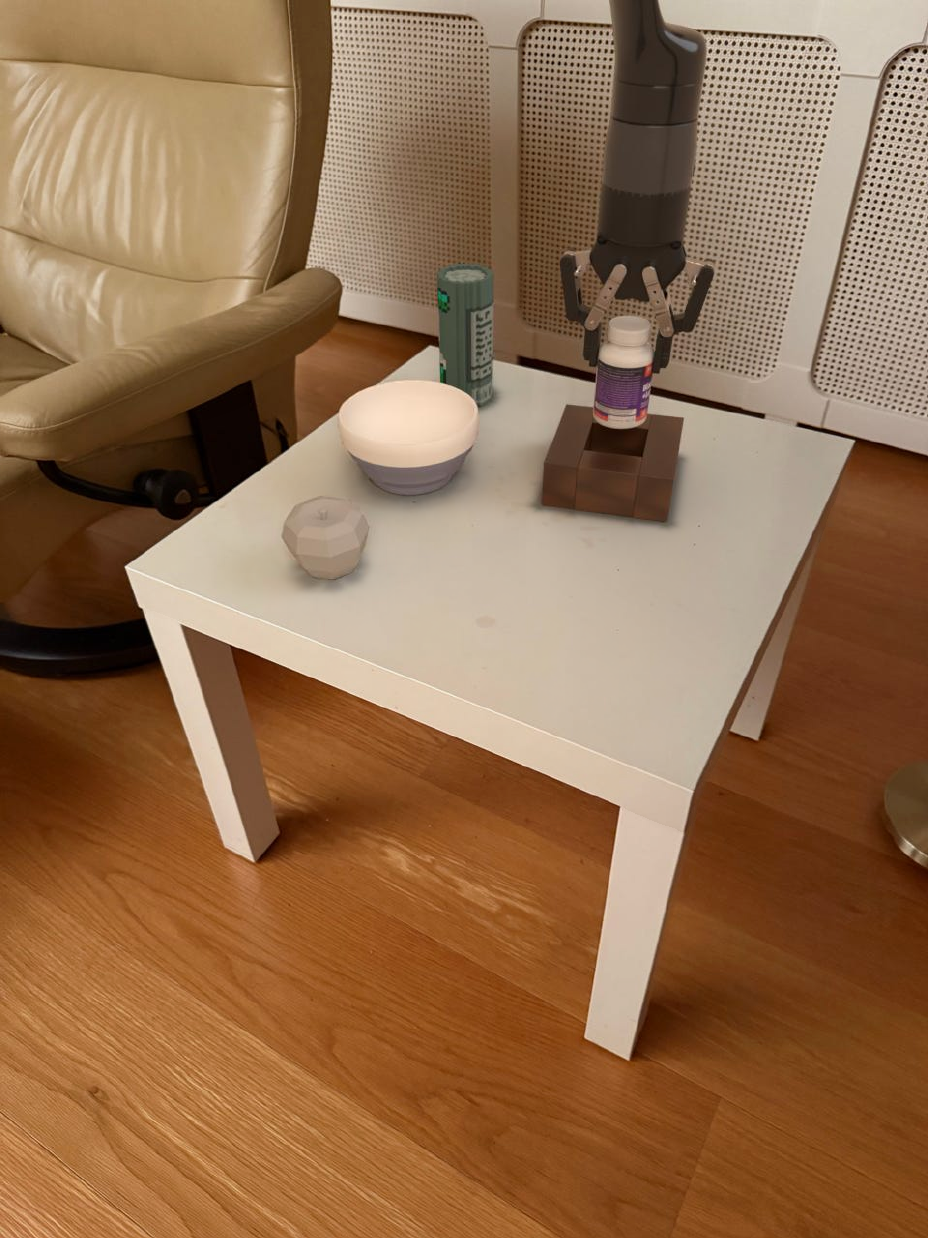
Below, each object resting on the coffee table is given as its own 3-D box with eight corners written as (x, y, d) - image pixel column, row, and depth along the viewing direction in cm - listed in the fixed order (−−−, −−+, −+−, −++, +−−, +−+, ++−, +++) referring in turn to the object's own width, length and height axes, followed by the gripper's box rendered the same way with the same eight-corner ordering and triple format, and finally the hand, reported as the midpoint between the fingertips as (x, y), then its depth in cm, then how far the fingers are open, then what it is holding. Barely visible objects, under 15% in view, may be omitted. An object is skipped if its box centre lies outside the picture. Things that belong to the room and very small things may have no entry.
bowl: (470, 436, 101) (470, 374, 96) (488, 507, 90) (488, 441, 85) (343, 446, 100) (336, 383, 95) (345, 518, 89) (337, 451, 84)
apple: (390, 560, 83) (385, 502, 79) (336, 605, 78) (327, 545, 74) (326, 533, 87) (317, 476, 82) (270, 575, 82) (258, 516, 77)
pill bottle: (649, 430, 86) (663, 334, 80) (594, 430, 86) (603, 335, 80) (642, 404, 90) (654, 311, 84) (590, 405, 90) (598, 312, 84)
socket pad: (677, 458, 97) (684, 417, 93) (666, 522, 87) (674, 479, 84) (563, 444, 99) (566, 403, 96) (541, 505, 90) (543, 462, 87)
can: (462, 380, 112) (460, 260, 102) (500, 394, 109) (503, 271, 99) (431, 398, 108) (426, 275, 98) (470, 413, 105) (469, 287, 95)
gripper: (554, 183, 72) (544, 376, 84) (733, 194, 70) (698, 392, 81) (569, 160, 78) (558, 344, 89) (736, 169, 75) (703, 358, 86)
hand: (625, 366), depth 85 cm, fingers closed on pill bottle, 5 cm apart
